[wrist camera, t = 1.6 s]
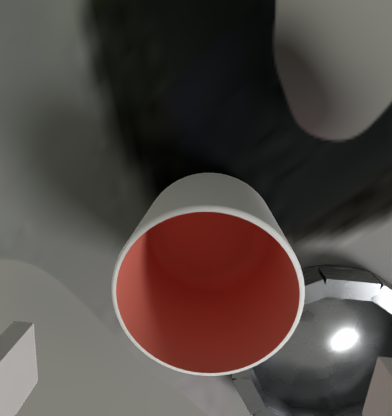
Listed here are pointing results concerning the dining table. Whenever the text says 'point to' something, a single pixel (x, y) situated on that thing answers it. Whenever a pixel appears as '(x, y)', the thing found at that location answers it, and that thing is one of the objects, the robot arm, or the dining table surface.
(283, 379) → the ring coaster
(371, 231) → the dining table surface
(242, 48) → the dining table surface
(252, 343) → the cup
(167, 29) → the dining table surface
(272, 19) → the dining table surface
